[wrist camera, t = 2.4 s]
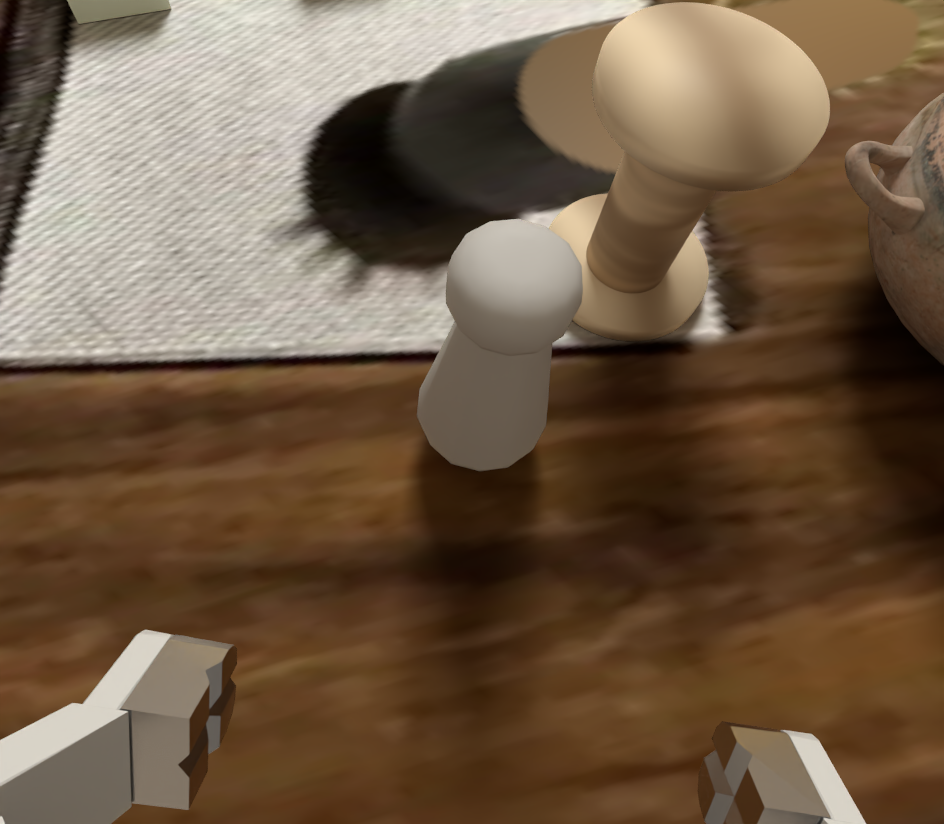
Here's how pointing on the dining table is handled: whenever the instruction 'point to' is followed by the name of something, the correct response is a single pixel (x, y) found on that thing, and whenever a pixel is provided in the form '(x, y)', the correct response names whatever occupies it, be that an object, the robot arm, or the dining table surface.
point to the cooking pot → (908, 221)
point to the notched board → (113, 8)
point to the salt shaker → (499, 343)
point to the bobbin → (683, 154)
